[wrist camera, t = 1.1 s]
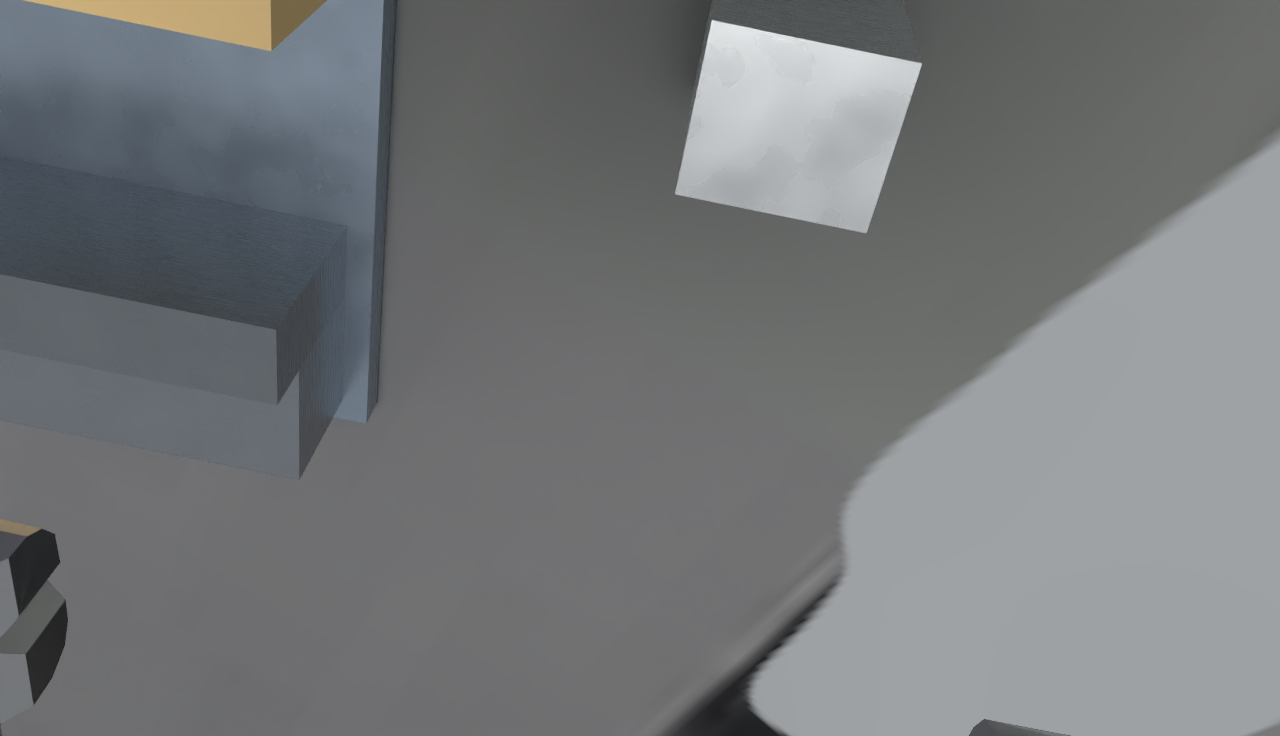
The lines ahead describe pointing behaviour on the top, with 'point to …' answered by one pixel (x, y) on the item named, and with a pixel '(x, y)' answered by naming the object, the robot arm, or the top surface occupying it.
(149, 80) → the vise base
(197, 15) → the block
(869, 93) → the aluminium block
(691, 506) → the top surface
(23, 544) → the robot arm
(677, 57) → the top surface
